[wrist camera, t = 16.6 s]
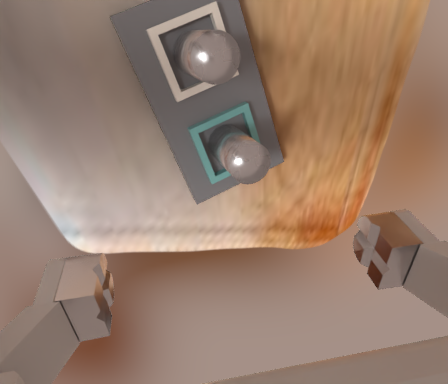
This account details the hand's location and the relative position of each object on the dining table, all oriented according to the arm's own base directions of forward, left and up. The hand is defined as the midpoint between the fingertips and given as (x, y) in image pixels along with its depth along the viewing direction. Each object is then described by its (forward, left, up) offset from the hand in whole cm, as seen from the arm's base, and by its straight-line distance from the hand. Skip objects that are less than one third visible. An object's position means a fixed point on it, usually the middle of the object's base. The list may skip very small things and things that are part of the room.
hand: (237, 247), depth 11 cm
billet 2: (+7, -9, -30) cm, 32 cm away
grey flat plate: (+7, -4, -32) cm, 33 cm away
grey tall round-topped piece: (+7, +2, -30) cm, 31 cm away
